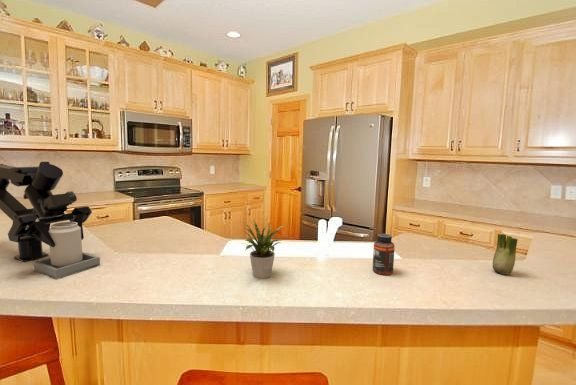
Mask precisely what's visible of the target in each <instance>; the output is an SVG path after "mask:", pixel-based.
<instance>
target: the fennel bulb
mask: <svg viewBox="0 0 576 385" xmlns="http://www.w3.org/2000/svg"><path fill="white" fill-rule="evenodd" d="M496 241H497V243H496V248H495V252H494V254H493V258H492V269H493V270H494V272H496V273H498V274H500V275H506V276H507V275H511V274H512V272H513V270H514V267H515V263H516V253H517V245H518V244H517V243H518V238H516V237H513V236H511V235H507V234H504V233H498V234H497V240H496Z"/></svg>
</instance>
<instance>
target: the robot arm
mask: <svg viewBox="0 0 576 385" xmlns="http://www.w3.org/2000/svg"><path fill="white" fill-rule="evenodd" d="M63 176H64V171H63V169H62V168H60V167H58V166H56V165H54V164H50V161H40V162H39V164H38V166H19V167H17V166H12V165H7V164H3V163H0V211H2V212H3V213H4V214H5V215H6V216H7V217H8V218H9V219H10V220H11V221H12V224H11V227H10V229H9V231H8V232H7V236H8V240H9V241H10V242H14V243H17V247H18V248H17V250H18V255H14V259H16V260H18V261H21V262H29V261H31V260H36V259H40V258H43V257H47V256H49V254H48V253H46V252H44V250H43V243H44V244H45V245H48V247H50V246H51V247H54V246H55V243H54V241H53V239H52V238H51V236H50V234H49V233H48V231H49V230H50V229H51V224H56V223H61V222H77V223H78V224H77V225H78V226H79V227H81V240H82V241H83V240H84V236H85V235H84V229H83V224H85V222H87V221H88V219H89V217H90V216H91V214H92V213H93V211H92V210H91V208H90V207H89V206H87V205H85V206H79V207H78V206H77V207H74V208H73V209H72V211H71V212H69V213H65V212H67V211H68V209H69V208H68V206H70V205H73V204H74V203H76V201H77V200H78V197H77V195H76V194H75V192H74V190H73V191H72V190H71V191H66V193H60V194H54V193H53V192H52V191H53V190H55V189H56V188H57V186H58V184H59V182H60V180H61V179H62V177H63ZM9 184H11V185H13V186H16V187H19V188H20V187H26V188H25V190H24V191H23V192H24V194H23V200H29V202H30V204H31V206H32V207H33V208H27V207H26V206H25V205H24V204H22V203H21V202H20V201H19V200H18V199H17V198H15V197H14V196H13V195H12V194H11V193H10V192H9V191H8V187H9Z"/></svg>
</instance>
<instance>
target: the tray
mask: <svg viewBox="0 0 576 385" xmlns="http://www.w3.org/2000/svg"><path fill="white" fill-rule="evenodd" d="M82 255H83V259H82V260H81V261H80V262H78V263H75V264H72V265H68V266H65V267H61V268H60V267H55V266H54V265H52V264H51V257H48V258H43V259H40V260H36V261H34V262H33V269H34V271H35V272H36V273H39V274H42V275H44V276H47V277H49V278H52V279H55V280H59V279H61V278H64V277H67V276H70V275H74V274H78V273H81V272H84V271H86V270H90V269H93V268H97V267H99V266H101V260H100V259H101V257H100V256H96V255H93V254H89V253H86V252H83V251H82Z"/></svg>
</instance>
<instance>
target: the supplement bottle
mask: <svg viewBox="0 0 576 385" xmlns="http://www.w3.org/2000/svg"><path fill="white" fill-rule="evenodd" d="M376 238H377V239H376V240H375V241H374V243H373V250H372V251H373V252H372V255H373V256H372V271H373V272H374V273H376V274H377V275H384V276H389V275H392V274H393V273H394V262H395V244H394V242H392V239H393V237H392V235H391V234H388V233H378V234H377V237H376Z"/></svg>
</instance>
